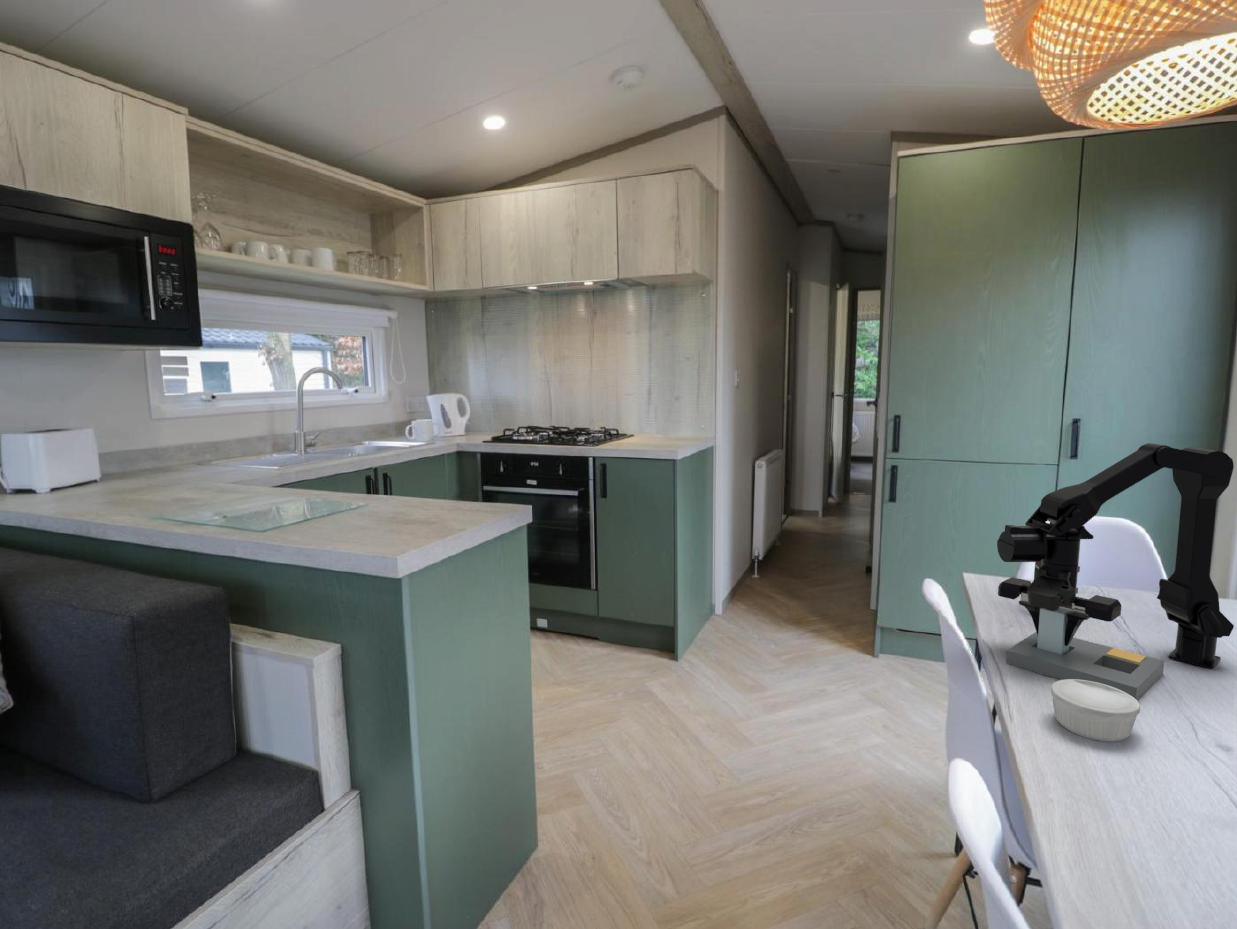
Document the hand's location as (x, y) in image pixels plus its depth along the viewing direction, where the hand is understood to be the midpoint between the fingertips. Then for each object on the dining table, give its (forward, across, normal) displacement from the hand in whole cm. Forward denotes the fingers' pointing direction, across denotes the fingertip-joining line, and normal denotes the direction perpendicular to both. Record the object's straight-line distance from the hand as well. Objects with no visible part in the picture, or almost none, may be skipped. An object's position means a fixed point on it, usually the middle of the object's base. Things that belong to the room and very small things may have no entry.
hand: (1053, 641), depth 128 cm
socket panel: (+4, +5, 0) cm, 6 cm away
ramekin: (+4, +13, -22) cm, 26 cm away
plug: (+4, 0, 0) cm, 4 cm away
